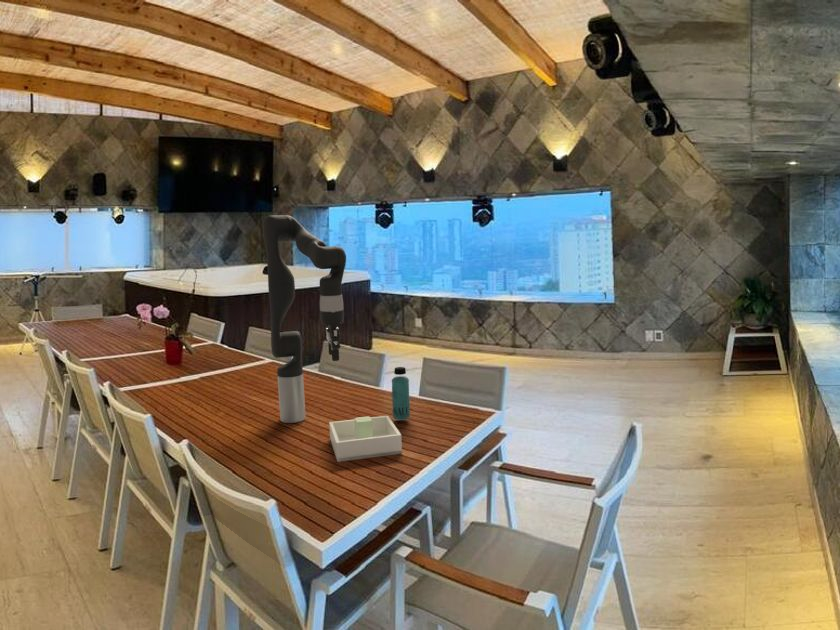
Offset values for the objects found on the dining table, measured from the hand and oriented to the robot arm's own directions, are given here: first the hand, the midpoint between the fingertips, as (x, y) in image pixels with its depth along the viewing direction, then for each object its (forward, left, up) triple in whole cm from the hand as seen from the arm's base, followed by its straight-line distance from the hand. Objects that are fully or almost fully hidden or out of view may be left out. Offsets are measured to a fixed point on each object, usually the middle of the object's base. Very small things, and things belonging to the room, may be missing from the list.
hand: (333, 357), depth 184 cm
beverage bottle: (-11, +25, -28) cm, 39 cm away
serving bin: (+9, +8, -28) cm, 30 cm away
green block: (+9, +7, -27) cm, 29 cm away
